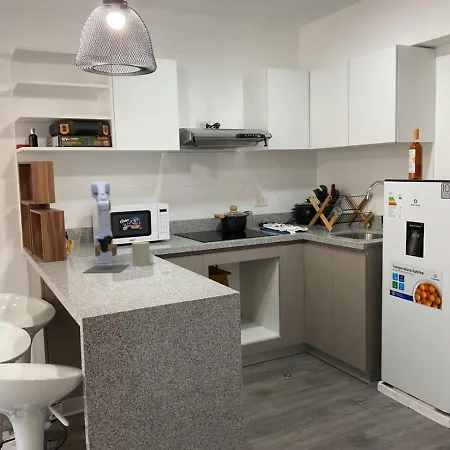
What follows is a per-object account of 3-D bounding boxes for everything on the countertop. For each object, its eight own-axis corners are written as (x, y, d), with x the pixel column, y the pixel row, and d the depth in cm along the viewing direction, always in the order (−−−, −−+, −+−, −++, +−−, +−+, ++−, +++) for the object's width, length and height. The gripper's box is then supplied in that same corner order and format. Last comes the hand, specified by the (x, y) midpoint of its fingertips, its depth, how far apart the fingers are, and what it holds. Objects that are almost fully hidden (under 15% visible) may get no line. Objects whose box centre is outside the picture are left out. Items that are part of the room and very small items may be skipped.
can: (133, 266, 262) (132, 243, 261) (131, 263, 271) (130, 241, 270) (151, 265, 265) (150, 242, 264) (149, 262, 274) (148, 240, 273)
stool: (117, 254, 258) (116, 243, 258) (114, 256, 253) (114, 245, 253) (97, 255, 259) (97, 244, 258) (94, 256, 254) (94, 245, 253)
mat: (95, 265, 267) (95, 265, 267) (129, 265, 266) (129, 264, 266) (83, 273, 247) (82, 272, 247) (119, 272, 246) (119, 271, 246)
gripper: (101, 223, 262) (102, 249, 263) (92, 226, 248) (93, 253, 249) (114, 223, 262) (115, 249, 263) (106, 225, 247) (108, 253, 249)
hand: (106, 251), depth 256 cm, fingers closed on stool, 5 cm apart
